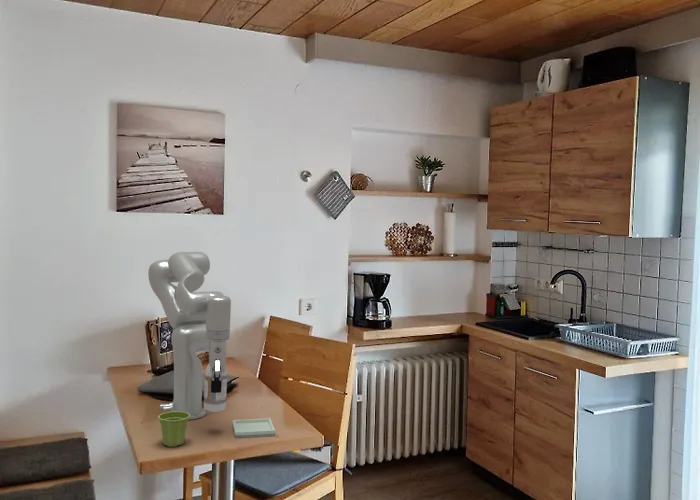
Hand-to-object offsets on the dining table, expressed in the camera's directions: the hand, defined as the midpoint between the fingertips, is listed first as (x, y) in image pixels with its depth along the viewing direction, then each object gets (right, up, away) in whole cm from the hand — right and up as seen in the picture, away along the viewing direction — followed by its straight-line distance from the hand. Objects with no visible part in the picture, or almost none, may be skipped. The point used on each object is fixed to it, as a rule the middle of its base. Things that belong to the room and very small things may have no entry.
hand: (215, 388), depth 207 cm
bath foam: (0, -7, +1) cm, 7 cm away
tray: (+12, -15, +4) cm, 19 cm away
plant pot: (-11, -15, -10) cm, 21 cm away
